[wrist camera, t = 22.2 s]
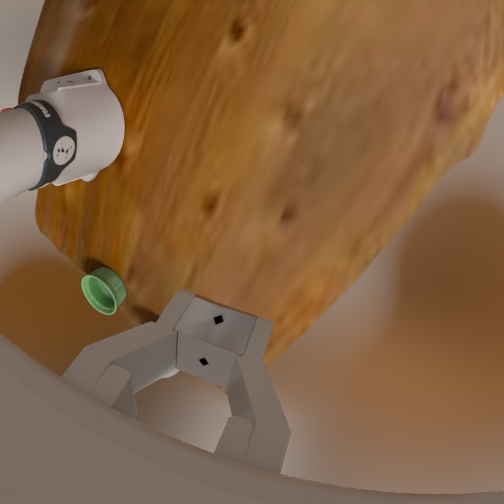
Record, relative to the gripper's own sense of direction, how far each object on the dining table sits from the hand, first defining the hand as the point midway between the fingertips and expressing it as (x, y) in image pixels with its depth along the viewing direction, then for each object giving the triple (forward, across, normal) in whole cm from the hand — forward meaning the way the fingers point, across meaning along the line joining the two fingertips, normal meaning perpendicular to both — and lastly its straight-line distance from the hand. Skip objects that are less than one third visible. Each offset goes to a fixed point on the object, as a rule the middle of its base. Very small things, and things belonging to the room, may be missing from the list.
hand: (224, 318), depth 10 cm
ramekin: (+31, +29, +37) cm, 56 cm away
